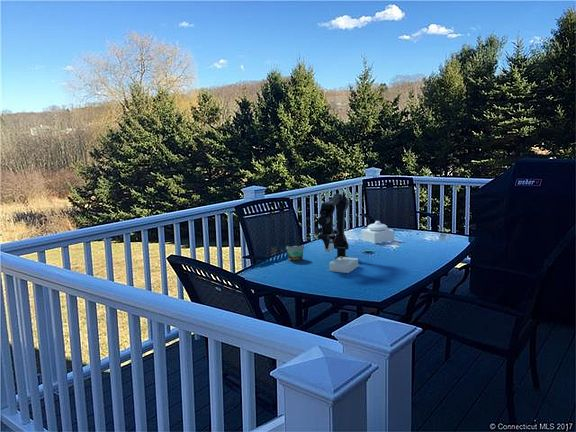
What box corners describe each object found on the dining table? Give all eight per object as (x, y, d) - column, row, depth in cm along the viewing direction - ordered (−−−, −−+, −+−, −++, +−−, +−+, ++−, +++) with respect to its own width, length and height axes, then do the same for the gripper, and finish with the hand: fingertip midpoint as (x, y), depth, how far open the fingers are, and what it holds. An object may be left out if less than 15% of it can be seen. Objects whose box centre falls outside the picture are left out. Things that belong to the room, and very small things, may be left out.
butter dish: (361, 240, 364) (360, 220, 361) (380, 237, 371) (380, 217, 369) (374, 244, 348) (374, 223, 345) (394, 241, 355) (394, 220, 353)
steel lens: (326, 249, 293) (326, 238, 292) (334, 250, 291) (334, 238, 289) (323, 251, 289) (323, 239, 288) (330, 251, 286) (330, 240, 285)
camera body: (340, 264, 294) (340, 255, 294) (358, 266, 289) (358, 257, 288) (329, 271, 281) (329, 261, 280) (348, 273, 275) (348, 263, 274)
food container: (288, 262, 303) (288, 247, 301) (286, 260, 309) (285, 245, 307) (307, 261, 306) (306, 246, 305) (304, 258, 312) (303, 244, 311)
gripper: (323, 220, 299) (323, 244, 301) (309, 224, 283) (310, 250, 286) (339, 221, 293) (339, 245, 296) (326, 226, 278) (326, 251, 280)
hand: (328, 248), depth 289 cm, fingers closed on steel lens, 5 cm apart
